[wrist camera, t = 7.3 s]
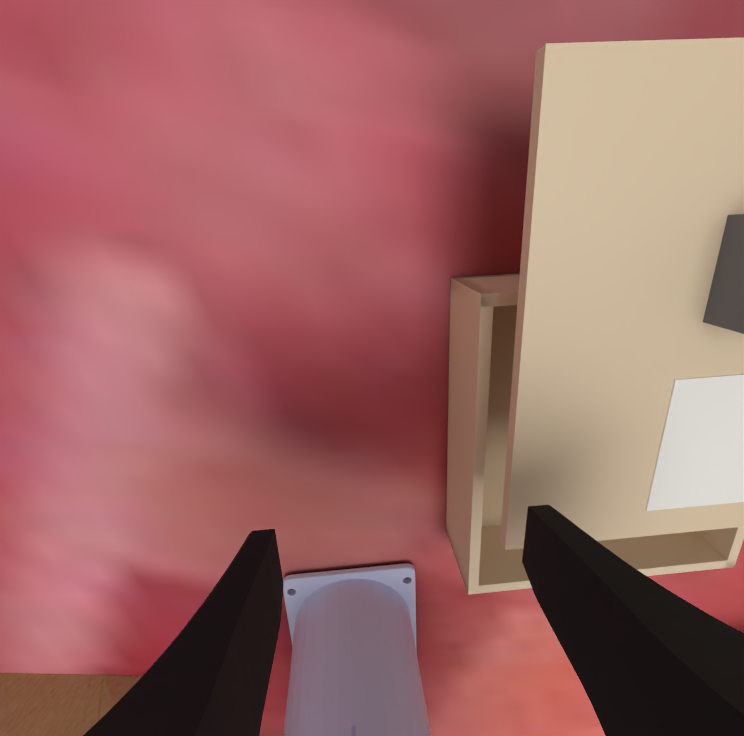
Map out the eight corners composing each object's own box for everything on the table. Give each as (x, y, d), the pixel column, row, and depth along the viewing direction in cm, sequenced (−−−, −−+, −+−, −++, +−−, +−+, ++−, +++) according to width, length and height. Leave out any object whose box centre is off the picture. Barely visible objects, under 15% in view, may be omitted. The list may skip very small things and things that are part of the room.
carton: (669, 509, 26) (734, 566, 21) (446, 530, 25) (468, 594, 21) (730, 260, 20) (832, 271, 16) (450, 277, 20) (481, 294, 15)
